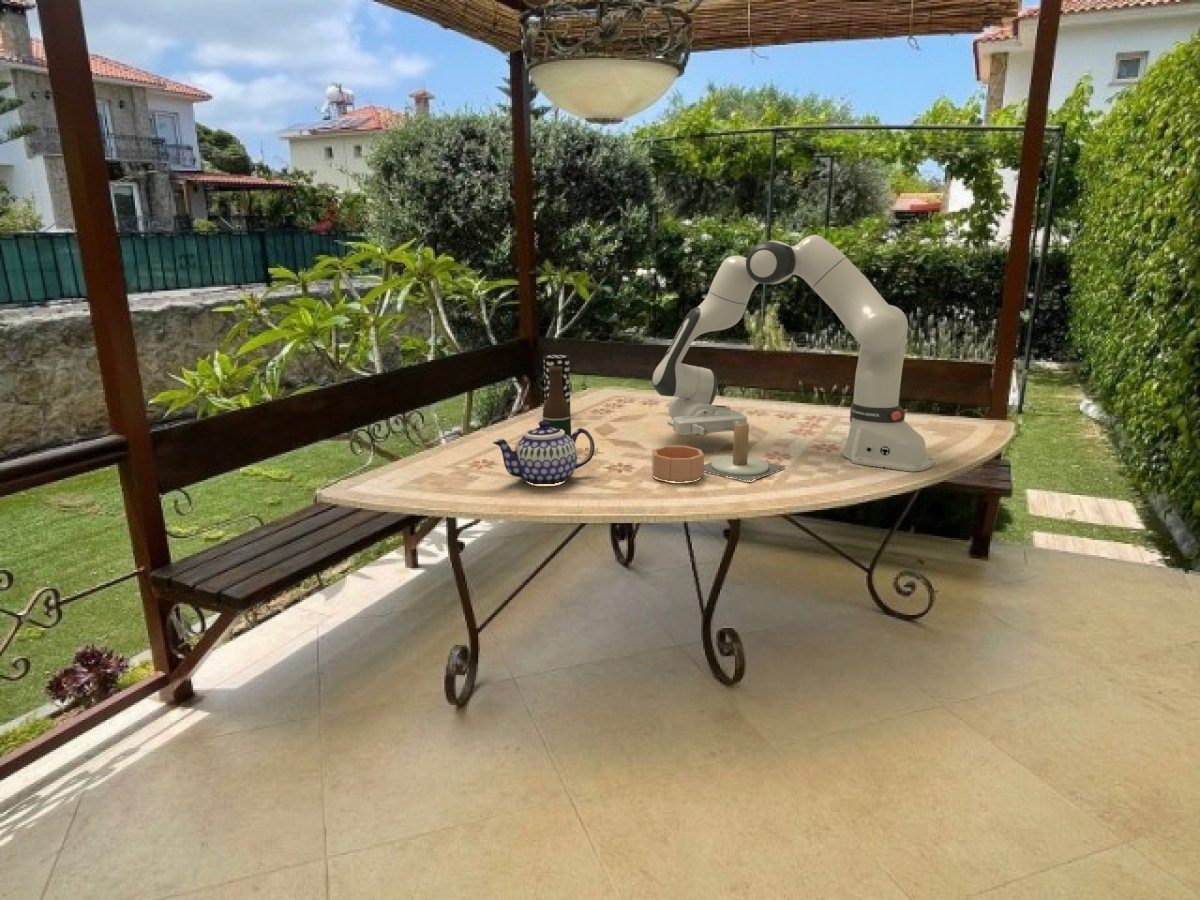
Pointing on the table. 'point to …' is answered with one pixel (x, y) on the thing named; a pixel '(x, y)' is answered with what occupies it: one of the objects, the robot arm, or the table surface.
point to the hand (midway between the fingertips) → (721, 430)
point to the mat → (771, 469)
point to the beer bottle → (557, 403)
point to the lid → (740, 456)
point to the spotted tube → (564, 363)
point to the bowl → (677, 463)
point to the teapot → (544, 454)
